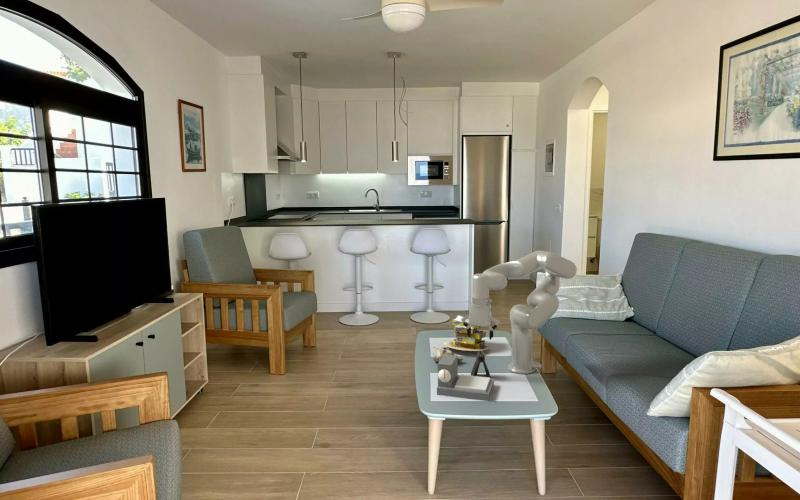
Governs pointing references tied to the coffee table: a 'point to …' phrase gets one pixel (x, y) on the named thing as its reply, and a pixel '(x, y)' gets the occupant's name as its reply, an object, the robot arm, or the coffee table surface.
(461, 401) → the coffee table surface
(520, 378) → the coffee table surface
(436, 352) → the ceramic sculpture
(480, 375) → the phone stand
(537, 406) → the coffee table surface
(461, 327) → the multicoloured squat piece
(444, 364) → the grey bracket with tile
